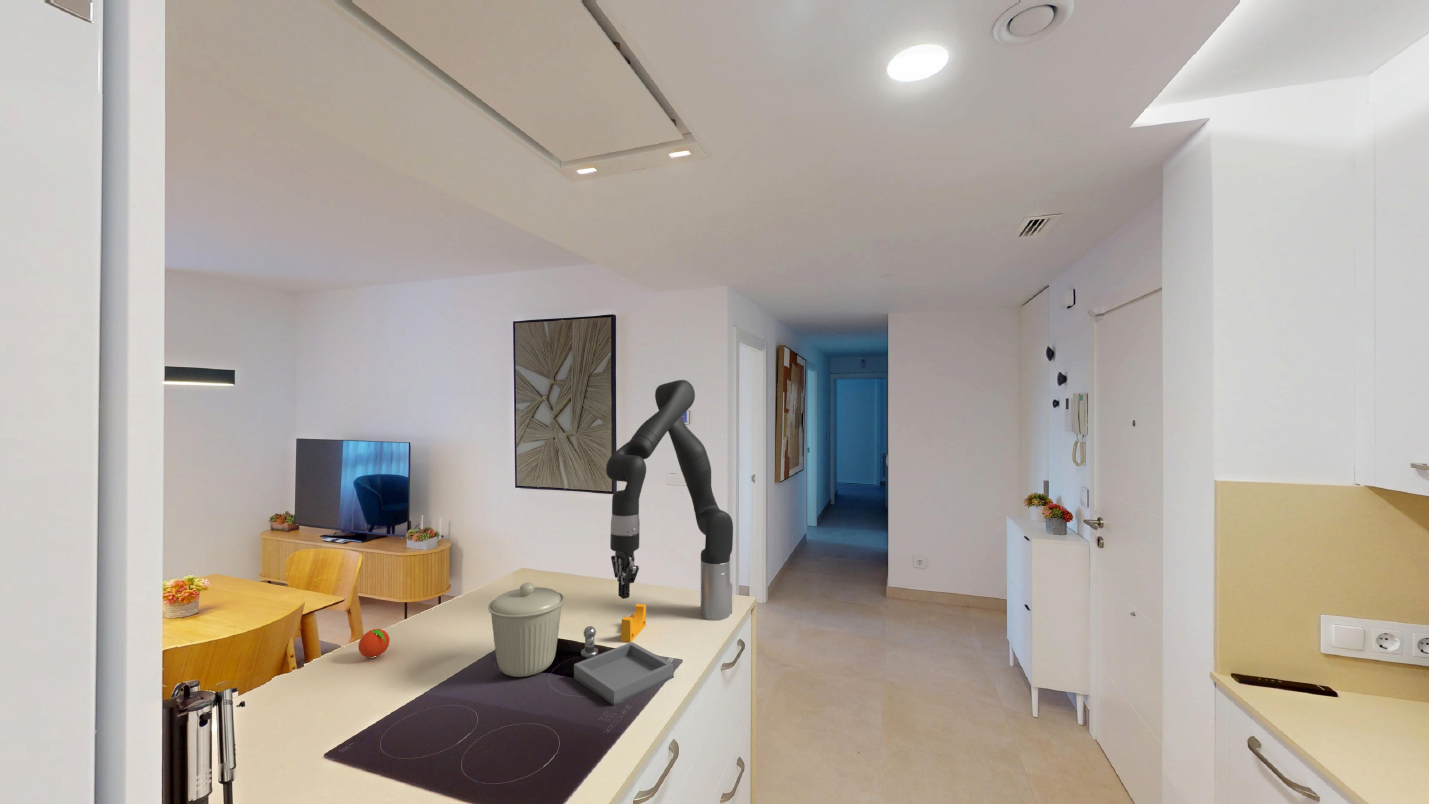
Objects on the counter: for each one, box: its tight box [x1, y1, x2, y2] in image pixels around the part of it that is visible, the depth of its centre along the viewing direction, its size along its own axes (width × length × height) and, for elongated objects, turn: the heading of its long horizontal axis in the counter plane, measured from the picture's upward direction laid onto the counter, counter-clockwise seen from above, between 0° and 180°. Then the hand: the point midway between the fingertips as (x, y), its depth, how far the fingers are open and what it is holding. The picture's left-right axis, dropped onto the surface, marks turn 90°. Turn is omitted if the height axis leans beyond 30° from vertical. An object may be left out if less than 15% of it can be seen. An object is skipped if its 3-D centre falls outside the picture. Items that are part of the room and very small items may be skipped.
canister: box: [487, 582, 565, 678], centre depth 133 cm, size 18×18×21 cm
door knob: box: [580, 625, 599, 659], centre depth 140 cm, size 4×4×7 cm
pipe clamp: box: [621, 603, 647, 644], centre depth 153 cm, size 12×4×6 cm, turn 166°
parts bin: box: [573, 641, 675, 706], centre depth 128 cm, size 17×17×4 cm
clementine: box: [358, 628, 391, 658], centre depth 139 cm, size 8×7×7 cm
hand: (623, 596), depth 139 cm, fingers closed
